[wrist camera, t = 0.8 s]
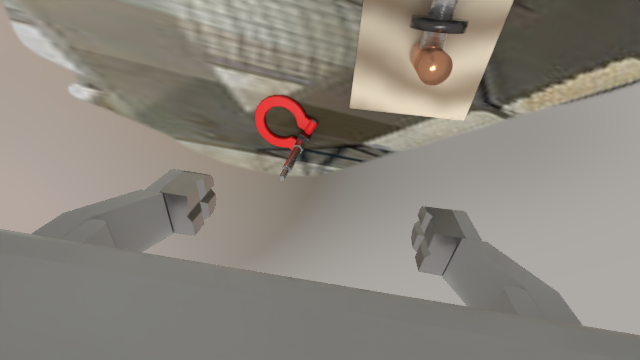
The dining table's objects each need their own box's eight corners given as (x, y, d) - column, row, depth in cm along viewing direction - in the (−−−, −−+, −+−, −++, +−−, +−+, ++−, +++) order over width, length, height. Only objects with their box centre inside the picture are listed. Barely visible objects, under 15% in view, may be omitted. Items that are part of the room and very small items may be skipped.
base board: (382, -145, 24) (382, -150, 24) (565, -139, 23) (572, -144, 22) (350, 105, 39) (349, 107, 38) (462, 117, 38) (464, 120, 37)
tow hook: (250, 126, 44) (298, 155, 45) (209, 166, 34) (273, 202, 35) (269, 83, 39) (322, 116, 41) (230, 114, 29) (303, 158, 30)
